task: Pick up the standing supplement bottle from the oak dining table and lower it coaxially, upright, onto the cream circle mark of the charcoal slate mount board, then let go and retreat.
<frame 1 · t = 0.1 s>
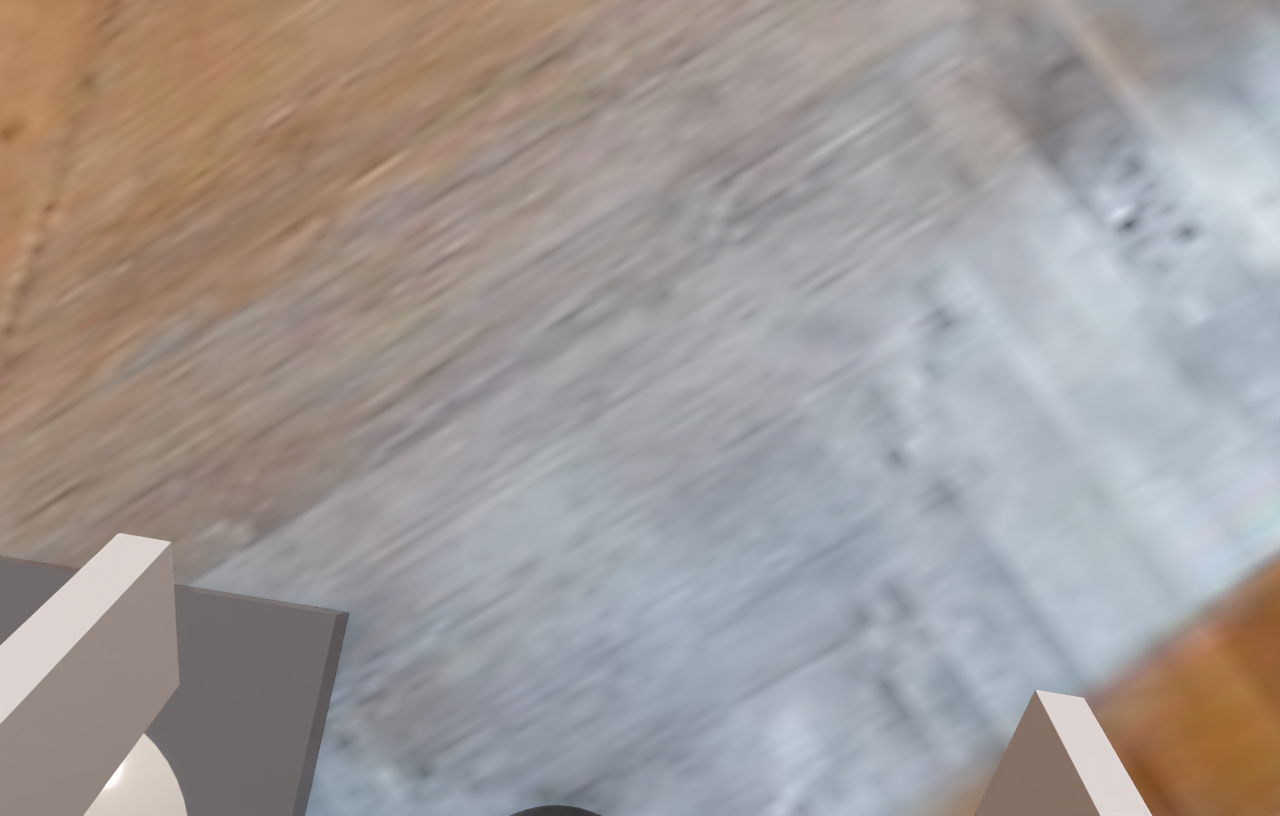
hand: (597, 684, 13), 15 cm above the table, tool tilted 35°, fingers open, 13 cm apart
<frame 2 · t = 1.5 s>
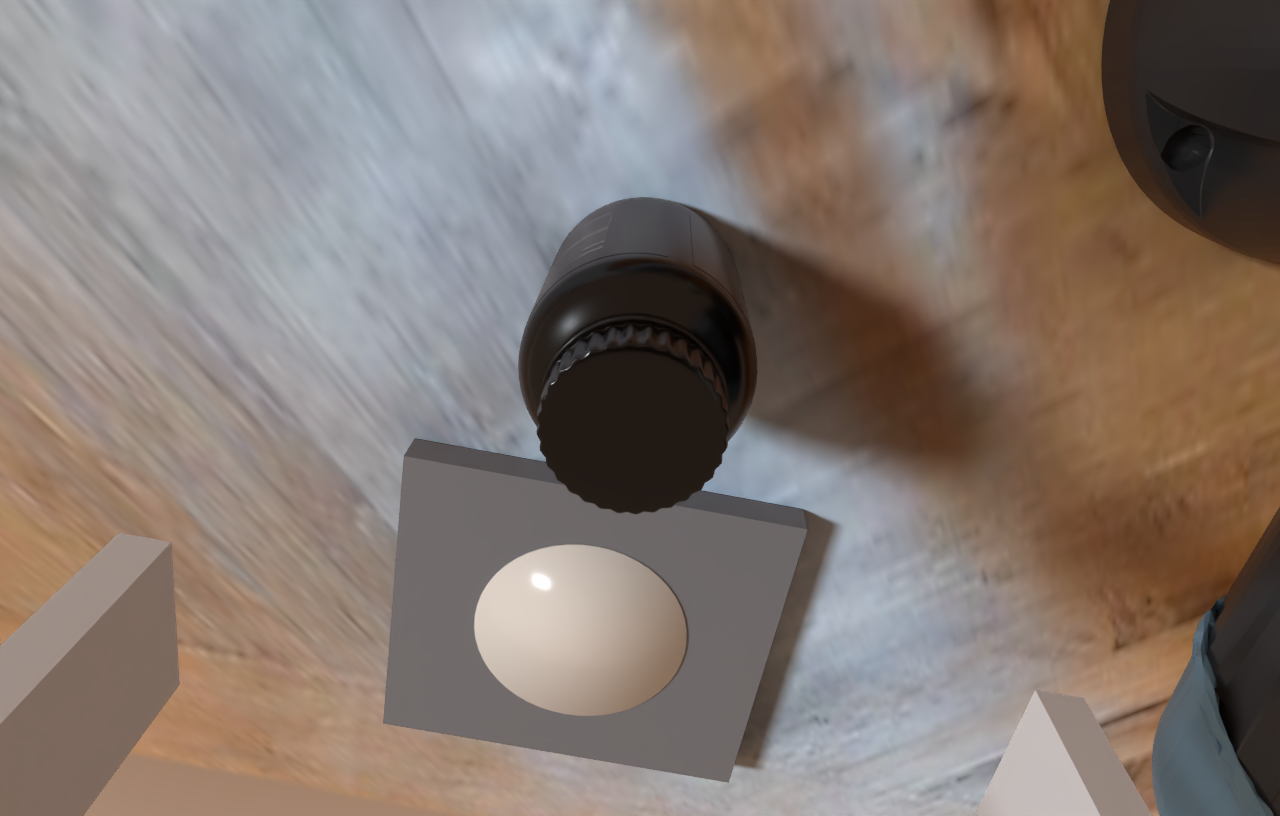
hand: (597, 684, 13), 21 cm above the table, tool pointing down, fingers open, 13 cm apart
mount board: (583, 611, 39), on the table
supplement bottle: (646, 285, 32), on the table
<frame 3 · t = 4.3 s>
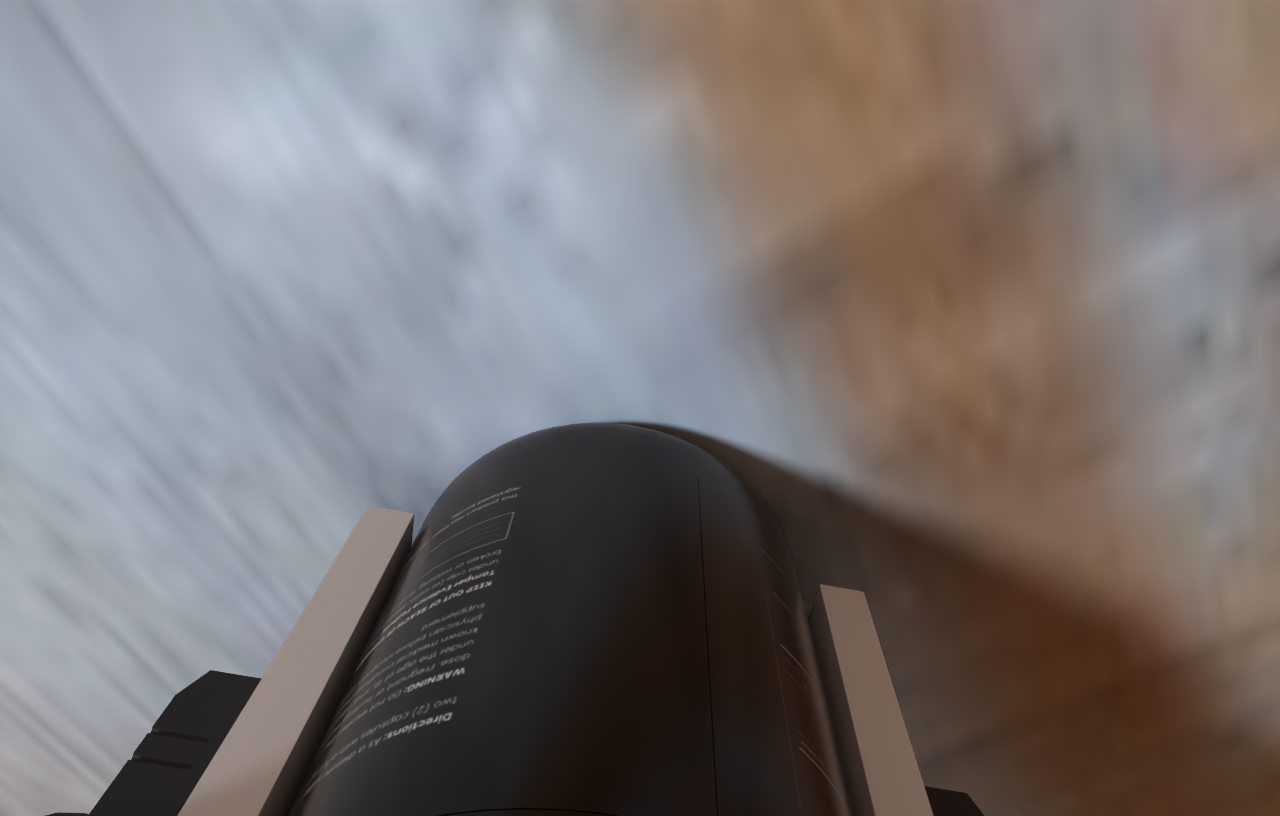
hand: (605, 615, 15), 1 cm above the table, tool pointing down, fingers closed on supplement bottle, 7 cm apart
supplement bottle: (610, 571, 16), on the table, touching gripper
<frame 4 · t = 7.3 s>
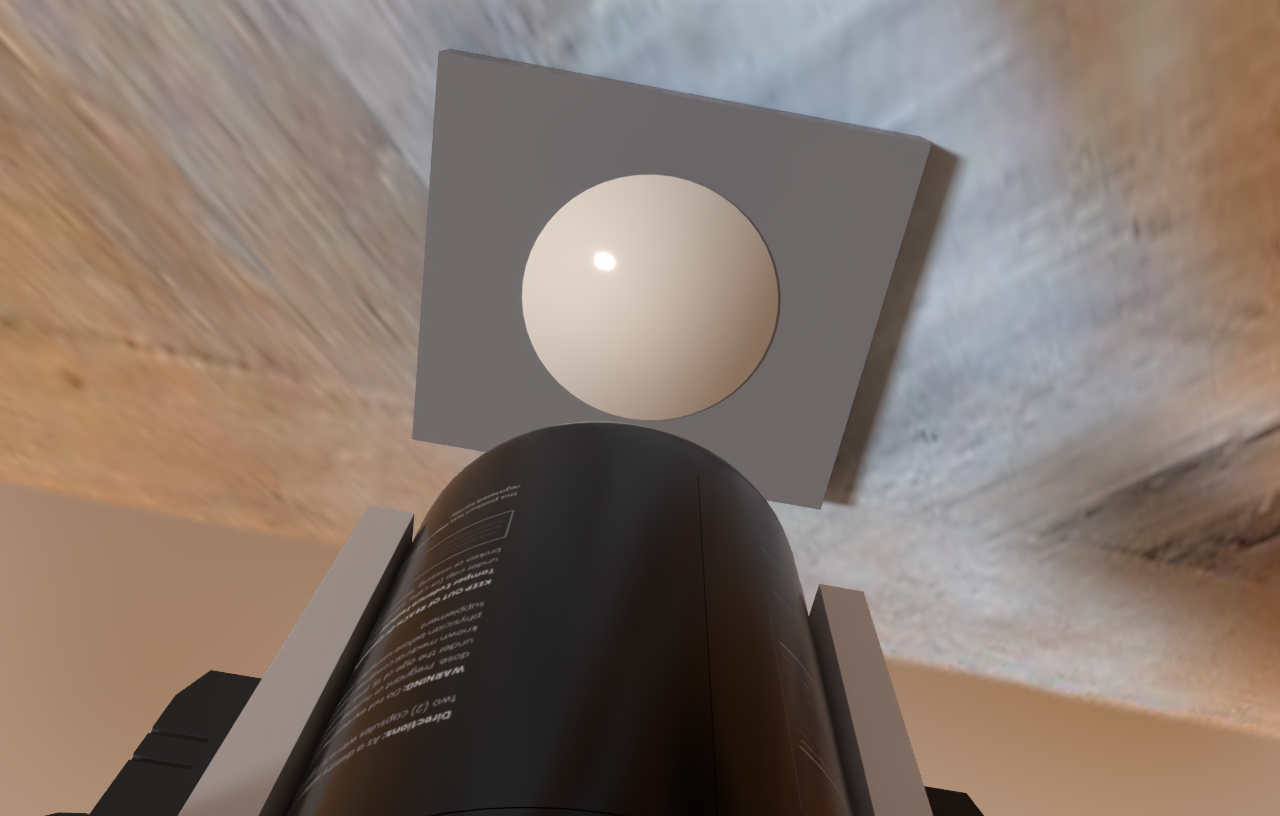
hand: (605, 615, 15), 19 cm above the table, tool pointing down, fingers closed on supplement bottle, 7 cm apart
mount board: (650, 291, 32), on the table
supplement bottle: (610, 570, 16), point 18 cm above the table, touching gripper
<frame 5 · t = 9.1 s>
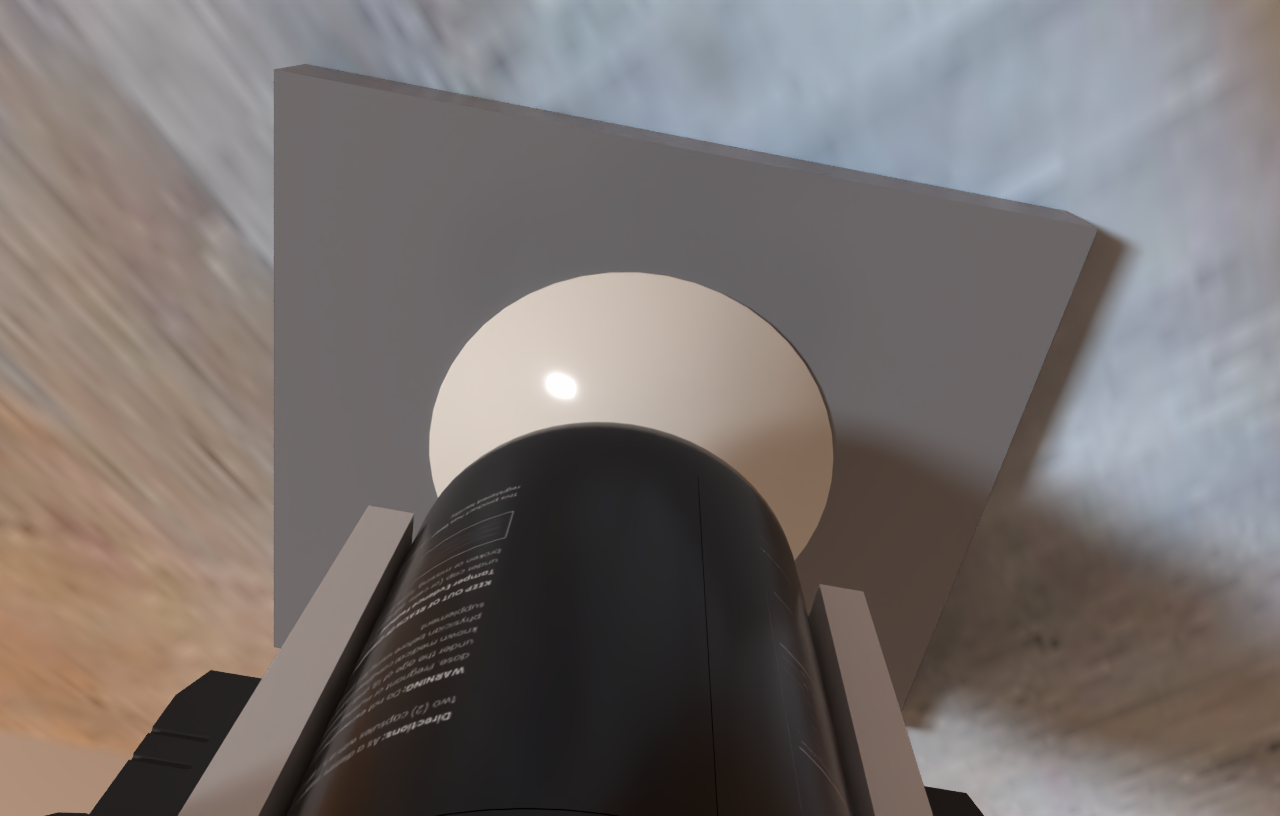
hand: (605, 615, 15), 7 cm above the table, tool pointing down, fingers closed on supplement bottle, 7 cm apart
mount board: (633, 436, 21), on the table
supplement bottle: (610, 571, 16), point 5 cm above the table, touching gripper
when the fingers open (4 cm above the table, at t = 10.4 s): supplement bottle drops 1 cm, resting on mount board.
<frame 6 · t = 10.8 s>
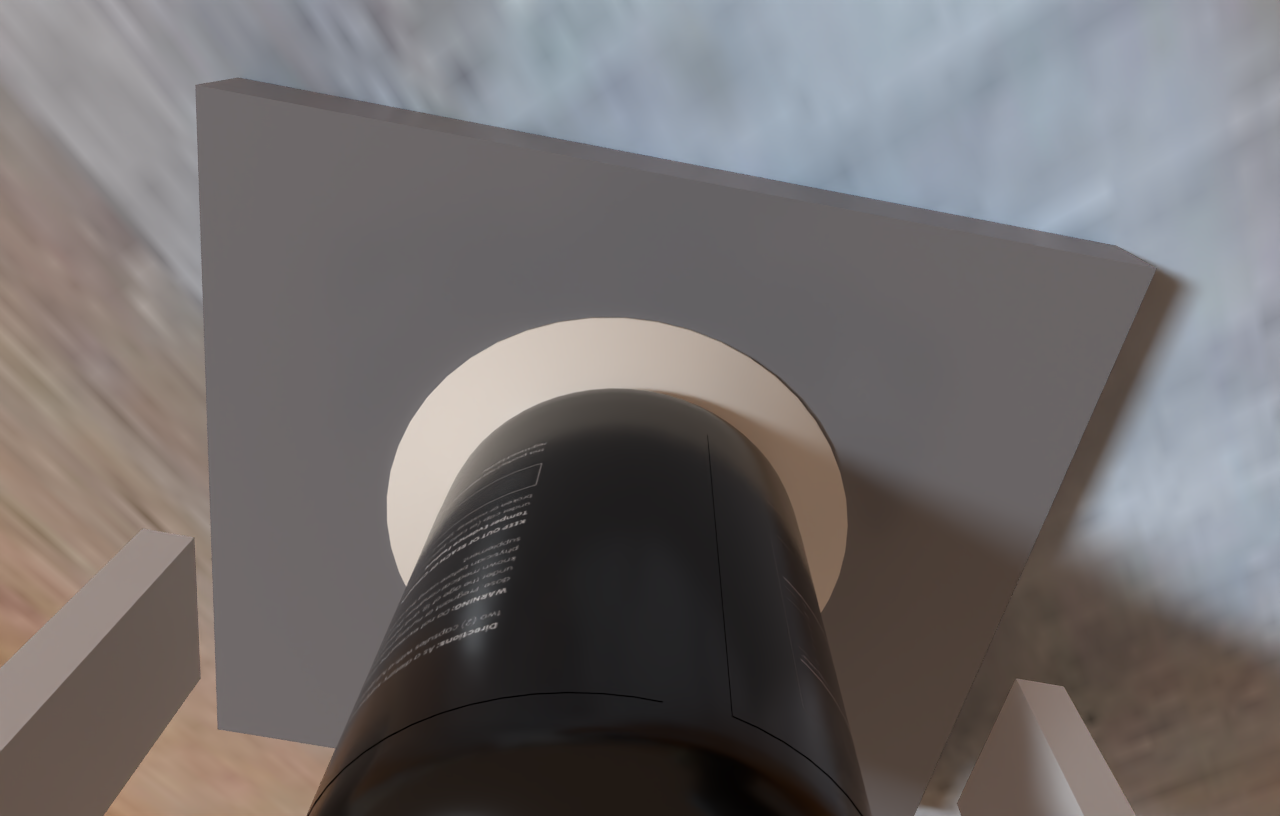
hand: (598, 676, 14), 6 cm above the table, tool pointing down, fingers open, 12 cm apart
mount board: (620, 495, 19), on the table
supplement bottle: (624, 530, 17), point 1 cm above the table, touching mount board
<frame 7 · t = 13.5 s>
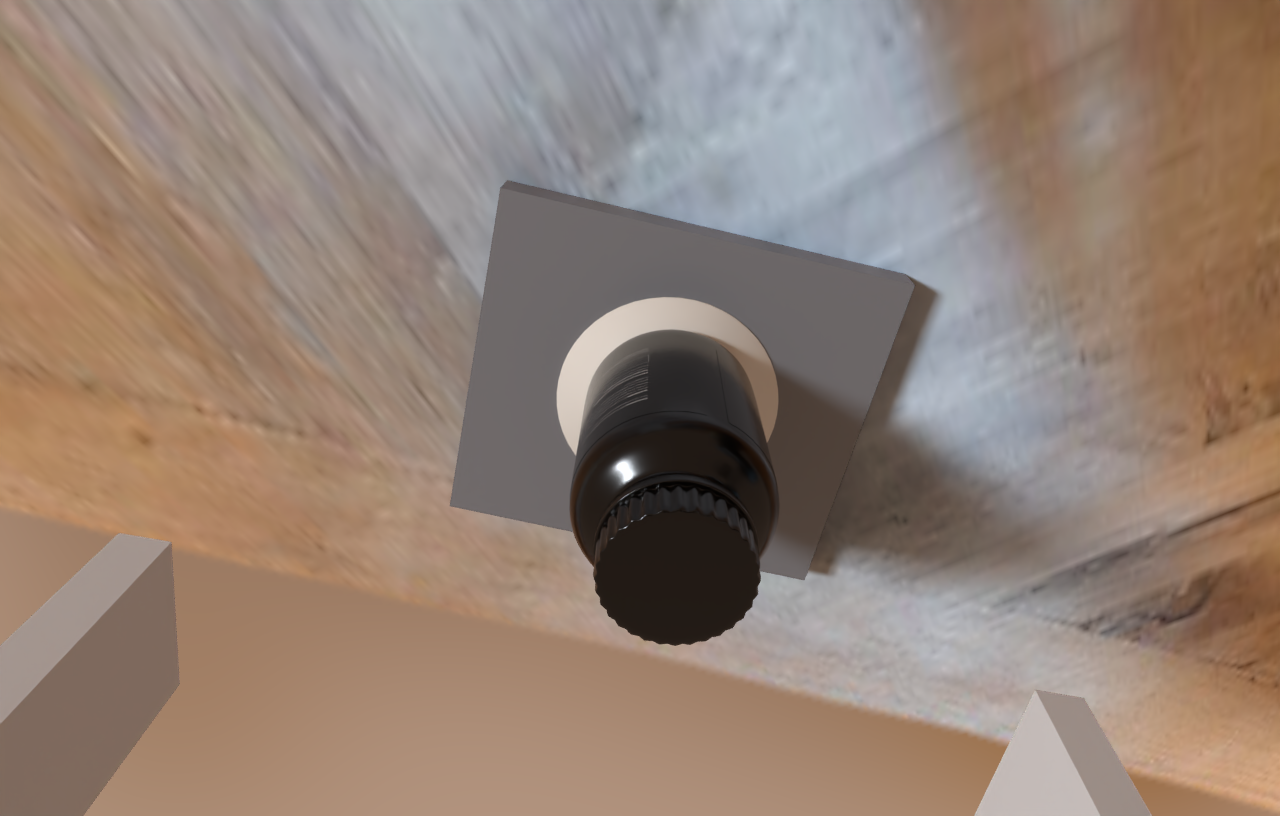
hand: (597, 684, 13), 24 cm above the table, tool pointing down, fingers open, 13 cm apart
mount board: (667, 388, 37), on the table
supplement bottle: (671, 401, 36), point 1 cm above the table, touching mount board
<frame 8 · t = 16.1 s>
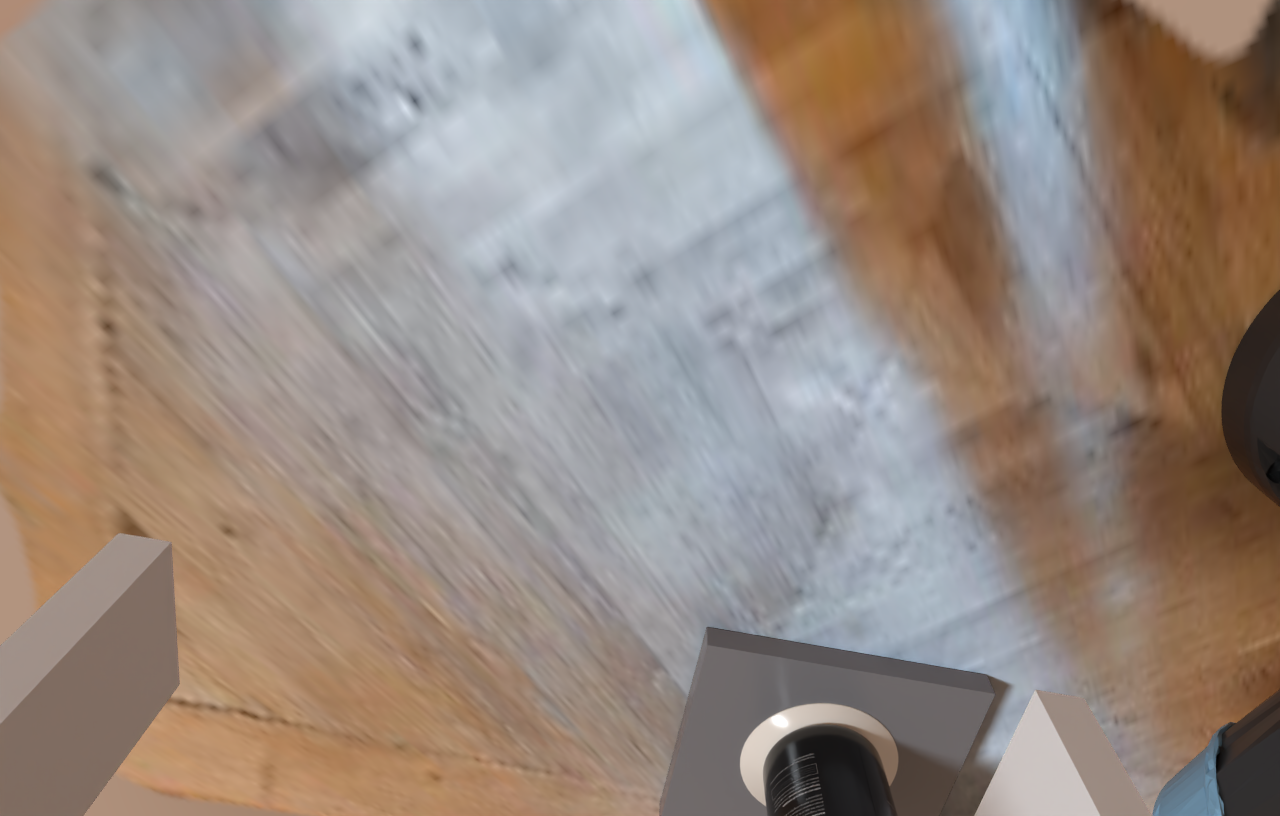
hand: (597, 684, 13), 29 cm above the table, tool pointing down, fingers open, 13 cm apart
mount board: (814, 742, 52), on the table
supplement bottle: (821, 761, 51), point 1 cm above the table, touching mount board
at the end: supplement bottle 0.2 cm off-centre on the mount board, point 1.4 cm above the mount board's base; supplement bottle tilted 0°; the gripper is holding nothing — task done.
